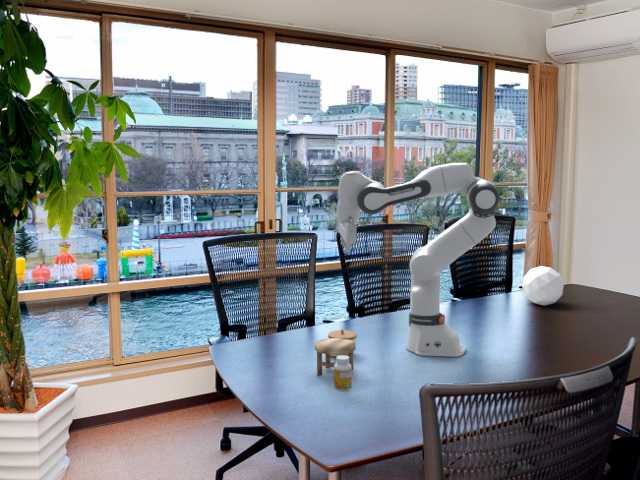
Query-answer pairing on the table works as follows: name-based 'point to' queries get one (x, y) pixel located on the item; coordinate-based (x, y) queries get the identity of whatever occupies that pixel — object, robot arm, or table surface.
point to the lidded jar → (343, 335)
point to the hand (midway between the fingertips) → (345, 248)
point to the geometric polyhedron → (543, 285)
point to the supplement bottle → (342, 373)
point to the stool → (333, 351)
